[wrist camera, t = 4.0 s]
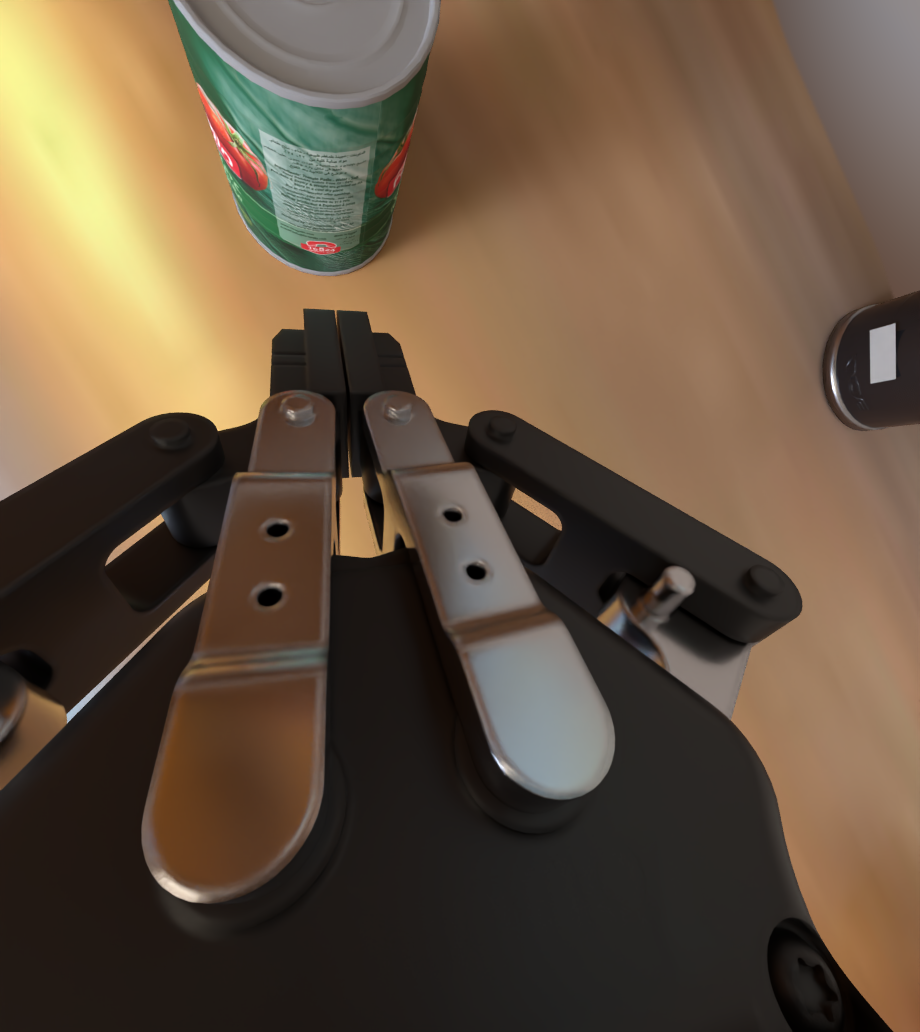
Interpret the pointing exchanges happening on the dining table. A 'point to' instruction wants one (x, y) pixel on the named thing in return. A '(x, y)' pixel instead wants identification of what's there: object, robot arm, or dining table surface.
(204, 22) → the canned tomato
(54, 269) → the dining table surface
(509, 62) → the dining table surface
